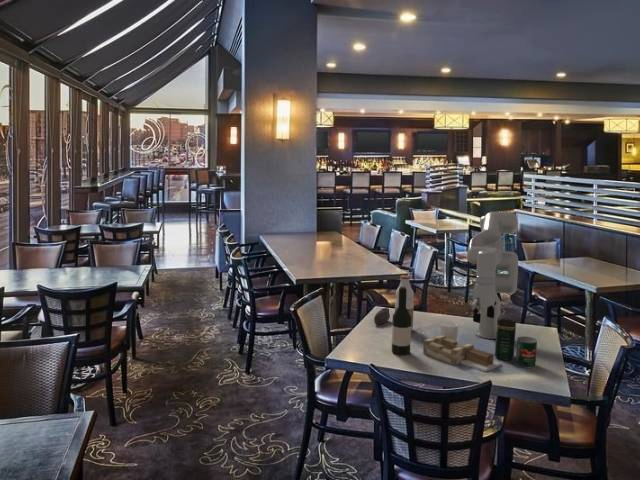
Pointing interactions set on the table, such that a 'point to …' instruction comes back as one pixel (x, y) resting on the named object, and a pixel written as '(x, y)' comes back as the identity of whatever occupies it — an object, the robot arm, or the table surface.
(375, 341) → the table surface
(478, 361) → the wooden block
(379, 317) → the perforated stone tool
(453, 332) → the white cup
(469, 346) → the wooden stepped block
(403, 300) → the wine bottle
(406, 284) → the fruit juice
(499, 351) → the coffee jar
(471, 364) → the ceramic coaster
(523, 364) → the canned tomato
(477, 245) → the robot arm
